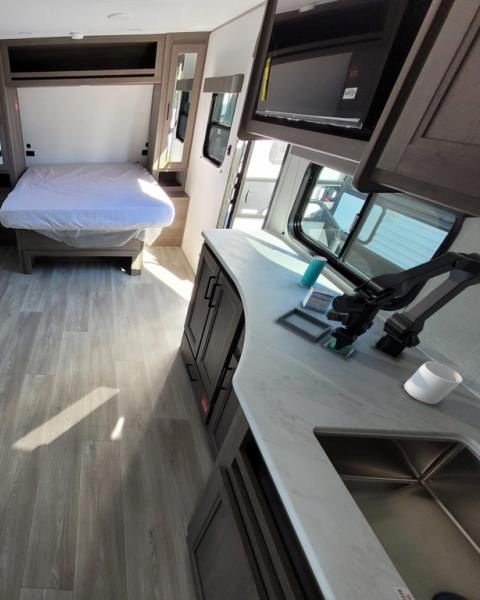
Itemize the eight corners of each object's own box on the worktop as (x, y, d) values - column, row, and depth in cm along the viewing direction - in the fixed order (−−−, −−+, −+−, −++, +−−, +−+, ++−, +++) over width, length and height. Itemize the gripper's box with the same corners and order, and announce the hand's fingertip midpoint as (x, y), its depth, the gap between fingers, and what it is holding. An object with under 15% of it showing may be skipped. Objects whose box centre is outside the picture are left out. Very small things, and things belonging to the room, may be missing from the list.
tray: (329, 330, 121) (332, 326, 119) (313, 342, 115) (317, 337, 113) (292, 312, 130) (295, 307, 129) (276, 322, 124) (279, 317, 123)
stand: (354, 351, 112) (361, 341, 109) (345, 359, 108) (353, 348, 105) (331, 339, 117) (338, 329, 114) (322, 346, 113) (329, 336, 110)
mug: (396, 372, 104) (417, 350, 98) (428, 382, 101) (451, 360, 95) (406, 397, 95) (429, 375, 89) (441, 409, 92) (468, 387, 86)
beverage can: (308, 283, 151) (323, 255, 143) (314, 289, 147) (330, 261, 138) (296, 282, 152) (310, 254, 143) (302, 288, 147) (317, 260, 138)
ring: (352, 349, 112) (357, 343, 110) (345, 356, 109) (349, 350, 107) (333, 339, 116) (337, 333, 114) (325, 345, 113) (329, 339, 111)
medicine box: (303, 307, 133) (312, 291, 128) (302, 302, 137) (311, 286, 132) (324, 313, 131) (334, 296, 126) (323, 308, 134) (333, 291, 129)
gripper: (348, 293, 113) (327, 325, 122) (325, 308, 104) (304, 342, 113) (385, 308, 105) (359, 342, 114) (364, 326, 96) (338, 361, 105)
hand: (339, 346), depth 112 cm, fingers closed on ring, 6 cm apart
